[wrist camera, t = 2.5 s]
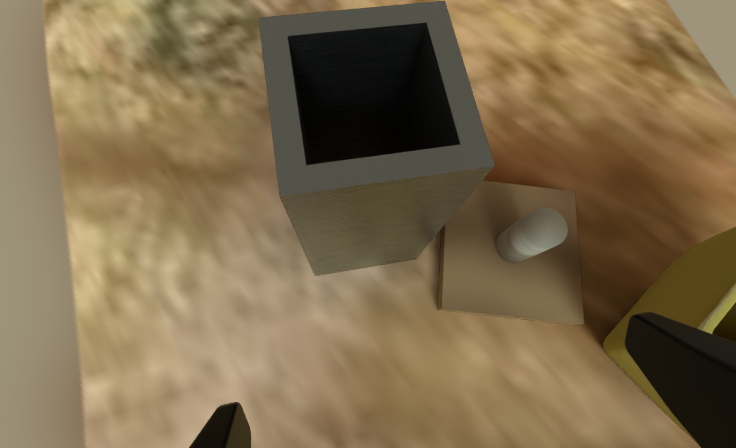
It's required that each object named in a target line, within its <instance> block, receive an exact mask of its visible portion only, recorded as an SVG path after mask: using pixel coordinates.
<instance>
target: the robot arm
mask: <svg viewBox="0 0 736 448" xmlns="http://www.w3.org/2000/svg"><path fill="white" fill-rule="evenodd" d="M624 343H625V348H626V350H627V352H628V353H629V355H630V356H631V358H632V359H633V360H634V362H635V363H636V364H637V366H638V367H639V369H640V370H641V371H642V373H643V374H644V376H645V377H646V378H647V380H648V381H649V382H650V384H651V385H652V387H653V388H654V389H655V391H656V392H657V394H658V395H659V396H660V398H661V399H662V401H663V402H664V403H665V405H666V406H667V407H668V409H669V410H670V411H671V413H672V414H673V415H674V416H675V417H676V419H677V420H678V421H679V422H680V424H681V425H682V426H683V427H684V428H685V429H686V431H687V432H688V433H689V434H690V435H691V436H692V438H693V439H694V440H695V441H696V442H697V443H698V445H699V446H700V447H701V448H736V343H735V342H733V341H730V340H727V339H724V338H722V337H719V336H716V335H713V334H711V333H708V332H705V331H702V330H700V329H697V328H694V327H692V326H689V325H686V324H683V323H681V322H678V321H675V320H672V319H670V318H667V317H664V316H661V315H659V314H656V313H653V312H643V313H639V314H634V315H632V316H631V317H630V319H629V322H628V326H627V331H626V335H625V340H624ZM189 448H251V431H250V426H249V424H248V421H247V419H246V416H245V414H244V411H243V409H242V406H241V404H240V403H238V402H234V403H229V404H224V405H221V406H219V407H218V408H217V409H216V410H215V412H214V413H213V415H212V416H211V417H210V419H209V420H208V422H207V423H206V425H205V426H204V427H203V429H202V430H201V432H200V433H199V434H198V436H197V437H196V439H195V440H194V441H193V443H192V444H191V446H190V447H189Z"/></svg>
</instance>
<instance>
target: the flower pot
mask: <svg viewBox="0 0 736 448" xmlns="http://www.w3.org/2000/svg"><path fill="white" fill-rule="evenodd" d="M643 312H653V313H656V314H659V315H661V316H664V317H667V318H670V319H672V320H675V321H678V322H681V323H683V324H686V325H689V326H692V327H694V328H697V329H700V330H702V331H705V332H708V333H711V334H713V335H716V336H719V337H722V338H724V339H727V340H730V341H733V342H735V343H736V227H734V228H732V229H730V230H728V231H725V232H723V233H721V234H719V235H716V236H714V237H712V238H710V239H708V240H706V241H704V242H702V243H700V244H698V245H696V246H695V247H693V248H692V249H690V250H689V251H687V252H686V253H684V254H683V255H682V256H680V257H679V258H678V259H676V260H675V261H674V262H673V263H672V264H671V265H670V266H669V267H667V268H666V269H665V270H664V271H663V272H662V273H661V274H660V275H659V277H658V278H657V279H656V280H655V281H654V282H653V283H652V284H651V286H650V287H649V288H648V289H647V290H646V292H645V293H644V294H643V295H642V296H641V298H640V299H639V300H638V301H637V302H636V304H635V305H634V306H633V307H632V308H631V309H630V311H629V312H628V313H627V314H626V315H625V316H624V318H623V319H622V320H621V321H620V322H619V323H618V324H617V326H616V327H615V328H614V329H613V330H612V331H611V332H610V334H609V335H608V336H607V337H606V339H605V340H604V343H603V348H604V350H605V352H606V353H607V354H608V355H609V357H610V358H611V359H613V360H614V361H615V362H616V363H617V364H618V365H619V366H620V367H621V368H622V370H623V371H624V372H625V373H626V374H627V375H628V376H629V377H630V378H631V379H632V380H633V381H634V382H635V383H636V384H637V385H638V386H639V387H640V388H641V389H642V390H643V391H644V392H645V393H646V394H647V395H648V396H649V397H650V398H651V399H652V400H653V401H654V402H655V403H656V404H657V405H658V406H659V407H660V408H661V409H662V411H663V412H664V413H665V414H666V415H668V416H669V417H670V418H671V419H672V420H673V421H674V422H675V423H676V424H677V425H678V426H679V427H680V428H681V429H682V430H683V431H684V432H685V433H686V434H688V435H689V436H690V437H691V438H692V436H691V435H690V434H689V433H688V432H687V431H686V429H685V428H684V427H683V426H682V425H681V424H680V422H679V421H678V420H677V419H676V417H675V416H674V415H673V414H672V413H671V411H670V410H669V409H668V407H667V406H666V405H665V403H664V402H663V401H662V399H661V398H660V396H659V395H658V394H657V392H656V391H655V389H654V388H653V387H652V385H651V384H650V382H649V381H648V380H647V378H646V377H645V376H644V374H643V373H642V371H641V370H640V369H639V367H638V366H637V364H636V363H635V362H634V360H633V359H632V358H631V356H630V355H629V353H628V352H627V350H626V348H625V343H624V340H625V335H626V331H627V326H628V322H629V319H630V317H631V316H632V315H634V314H639V313H643ZM692 439H693V438H692ZM693 440H694V439H693ZM694 441H695V440H694Z"/></svg>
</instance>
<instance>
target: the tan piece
mask: <svg viewBox="0 0 736 448" xmlns="http://www.w3.org/2000/svg"><path fill="white" fill-rule="evenodd" d="M438 310H443V311H452V312H461V313H470V314H479V315H488V316H497V317H507V318H516V319H525V320H534V321H543V322H552V323H561V324H570V325H579V324H584V313H583V299H582V284H581V270H580V256H579V242H578V228H577V214H576V199H575V191H568V190H559V189H551V188H543V187H534V186H526V185H517V184H509V183H501V182H492V181H484V180H482V182H481V183H480V184H479V185H478V186H477V187H476V189H475V190H474V191H473V192H472V193H471V195H470V196H469V197H468V198H467V199H466V200H465V202H464V203H463V204H462V205H461V206H460V207H459V209H458V210H457V211H456V212H455V213H454V215H453V216H452V217H451V218H450V219H449V220H448V222H447V223H446V224H445V225H444V226H443V227H442V229H441V246H440V268H439V291H438Z"/></svg>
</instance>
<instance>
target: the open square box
mask: <svg viewBox="0 0 736 448" xmlns="http://www.w3.org/2000/svg"><path fill="white" fill-rule="evenodd" d="M259 27H260V35H261V43H262V52H263V60H264V69H265V77H266V85H267V94H268V102H269V111H270V119H271V127H272V136H273V144H274V153H275V161H276V169H277V178H278V186H279V195H280V198H281V201H282V203H283V205H284V207H285V209H286V212H287V214H288V216H289V218H290V221H291V223H292V225H293V227H294V230H295V232H296V234H297V236H298V239H299V241H300V243H301V245H302V248H303V250H304V252H305V254H306V256H307V259H308V261H309V263H310V265H311V268H312V270H313V272H314V274H315V276H318V275H324V274H330V273H336V272H342V271H348V270H354V269H360V268H366V267H372V266H378V265H384V264H390V263H396V262H402V261H408V260H414V259H416V258H417V257H418V256H419V254H420V253H421V252H422V251H423V250H424V249H425V247H426V246H427V245H428V244H429V243H430V242H431V240H432V239H433V238H434V237H435V236H436V234H437V233H438V232H439V231H440V230H441V229H442V227H443V226H444V225H445V224H446V223H447V222H448V220H449V219H450V218H451V217H452V216H453V215H454V213H455V212H456V211H457V210H458V209H459V207H460V206H461V205H462V204H463V203H464V202H465V200H466V199H467V198H468V197H469V196H470V195H471V193H472V192H473V191H474V190H475V189H476V187H477V186H478V185H479V184H480V183H481V182H482V180H483V179H484V178H485V177H486V176H487V175H488V173H489V172H490V171H491V170H492V169H493V168H494V166H495V165H494V162H493V158H492V155H491V152H490V148H489V145H488V142H487V139H486V135H485V132H484V129H483V125H482V122H481V119H480V115H479V112H478V109H477V105H476V102H475V99H474V96H473V92H472V89H471V86H470V82H469V79H468V76H467V72H466V69H465V66H464V63H463V59H462V56H461V53H460V49H459V46H458V43H457V39H456V36H455V33H454V30H453V26H452V23H451V20H450V16H449V13H448V10H447V6H446V3H445V1H437V2H426V3H415V4H404V5H393V6H382V7H371V8H360V9H349V10H338V11H327V12H317V13H306V14H295V15H284V16H273V17H262V18H259Z"/></svg>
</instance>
